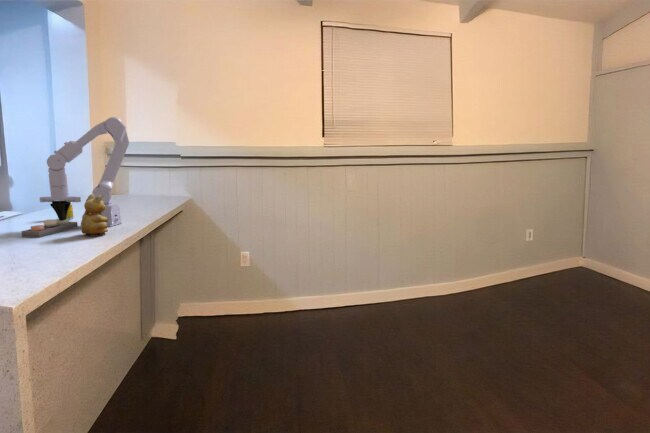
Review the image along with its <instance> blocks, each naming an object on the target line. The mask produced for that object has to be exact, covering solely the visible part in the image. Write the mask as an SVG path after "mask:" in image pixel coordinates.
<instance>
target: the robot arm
mask: <svg viewBox="0 0 650 433" xmlns="http://www.w3.org/2000/svg"><path fill="white" fill-rule="evenodd" d="M106 134H109V135H110V136H111V138H112V139H113V141H114V143H115V144H114V146H113V148H112V151H111V153H110V155H109V157H108V160H107V163H106V166H105V168H104V171H103V173H102V176H101V178H100V180H99V182H98V184H97V186H96V187H94V188H93V190H92V192H91V194H94V196H95V198H96V197H97V196H99V195H101V196H102V198H101V201H103V202H104V205H105V207H106V208H105V210H104V211H103V212H101V213H102V215H103V216H104V217H107V219H108V221H107V228H109V227H114V226H116V225H120V224H123V221H122V218H121V217H122V216H121V208H120V206H119V205H118V204H116V203H113V201H112V200H111V199H112V189H113V185H114V182H115V179H116V177H117V174H118V172H119V169H120V167H121V165H122V162H123V160H124V157H125V155H126V153H127V149H128V148H129V145H130V141H129V137H128V133H127V129H126V126H125V124H124V122H123V121H122V120H121V119H120V118H118V117H115V116H112V117H109V118H106V120H104V121H102V122H100V123H98V124H96V125H95V126H93V127H92V128H91V129H89V130H88V131H87V132H86V133H84V134H83V135H81V137H80V138H78V139H77V140H75V141H74V140H70V141H65V142H64V143H63V144H64V145H63V146H61V148H59V149H58V150H54V151H53V153H54V154H50V156H48V158H47V159H46V165H47V167H48V168H47V169H48V170H47V171H48V182H49V190H50V196H40V197H39V203H50V206H51V209H53V211H54V212H55V214H56V216H57V219H58V220H59V221H63V220H66V215H67V211H68V208H69V206H70V204H71V203H81V202H82V201H81V196H70V195H69V188H68V179H67V178H68V177H67V173H66V169H65V168H66V164H67V163H71V162H72V161H73V160H75V159H76V158H77V157H78V156H80V155H81V154H82V153H83V148H84V147H85V146H86V145H88V144H89V143H90V142H91V141H94V140H95V139H96V138H97V137H99V136H100V135H106ZM59 200H65V201H59ZM67 200H68V201H67Z"/></svg>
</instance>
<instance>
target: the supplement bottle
mask: <svg viewBox="0 0 650 433" xmlns="http://www.w3.org/2000/svg"><path fill="white" fill-rule="evenodd" d="M58 201H65V200H58ZM67 201H68V200H67ZM73 208H74V207H73V202H71V204H70V206H69V208H68V211H67V215H66V219H69V221H70V220H73V219H74V211H73Z"/></svg>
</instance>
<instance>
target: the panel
mask: <svg viewBox="0 0 650 433" xmlns="http://www.w3.org/2000/svg"><path fill="white" fill-rule="evenodd" d="M75 227H76V228H78V227H79V225H78V221H69V224H65V225H58V224H57V226H51V227H45V226H44V230H42V231H31V228H30V229H29V228H28V229H26V230H25V229H24V230H21V231H20V232H21V237H22V238H43V237H46V236H49V235H53V234H57V233H58V234H59V233H60V232H64V231H68V230H72V229H75Z"/></svg>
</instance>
